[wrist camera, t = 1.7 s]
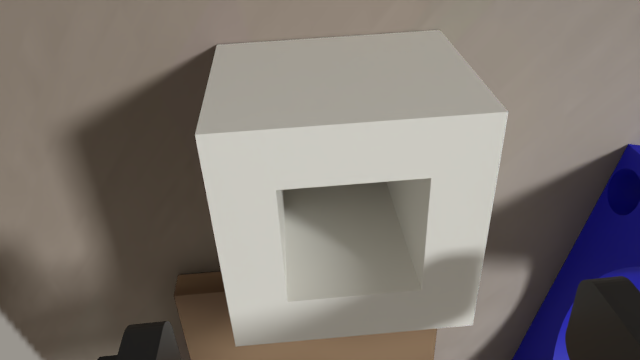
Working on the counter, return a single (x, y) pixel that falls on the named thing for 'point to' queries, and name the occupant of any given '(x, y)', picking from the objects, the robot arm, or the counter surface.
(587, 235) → the blue curved saddle bracket
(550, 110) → the counter surface
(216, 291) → the pin base
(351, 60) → the white hollow square block
